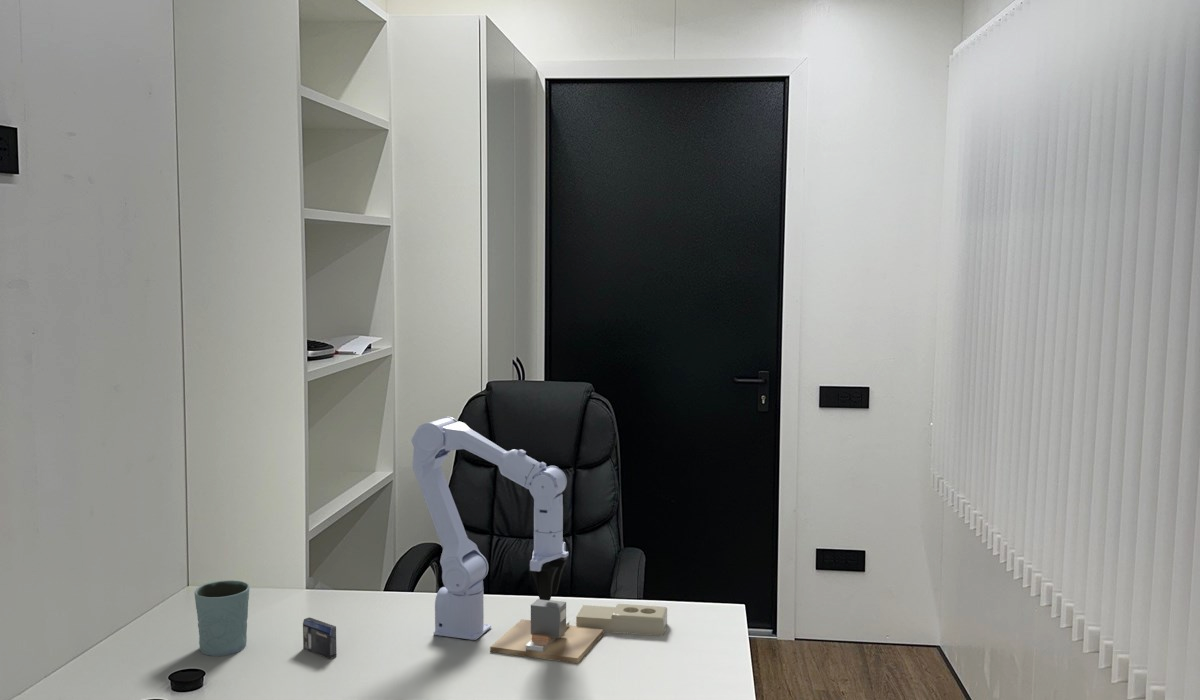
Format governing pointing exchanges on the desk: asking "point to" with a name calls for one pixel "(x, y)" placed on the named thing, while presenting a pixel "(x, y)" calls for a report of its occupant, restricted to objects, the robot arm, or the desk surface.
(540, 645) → the din rail
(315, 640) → the mini dv tape
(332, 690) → the desk surface
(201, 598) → the teal cup
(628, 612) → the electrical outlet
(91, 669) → the desk surface
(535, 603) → the block
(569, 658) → the mounting board
